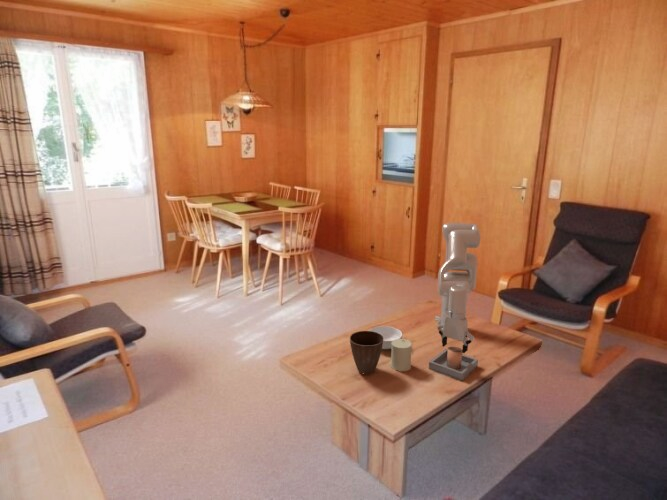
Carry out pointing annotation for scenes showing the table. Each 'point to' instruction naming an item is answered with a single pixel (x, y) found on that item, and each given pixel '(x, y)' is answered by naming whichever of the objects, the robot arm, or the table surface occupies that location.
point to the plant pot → (366, 350)
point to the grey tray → (441, 366)
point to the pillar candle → (401, 354)
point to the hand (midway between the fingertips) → (454, 348)
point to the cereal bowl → (387, 335)
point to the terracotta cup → (454, 357)
